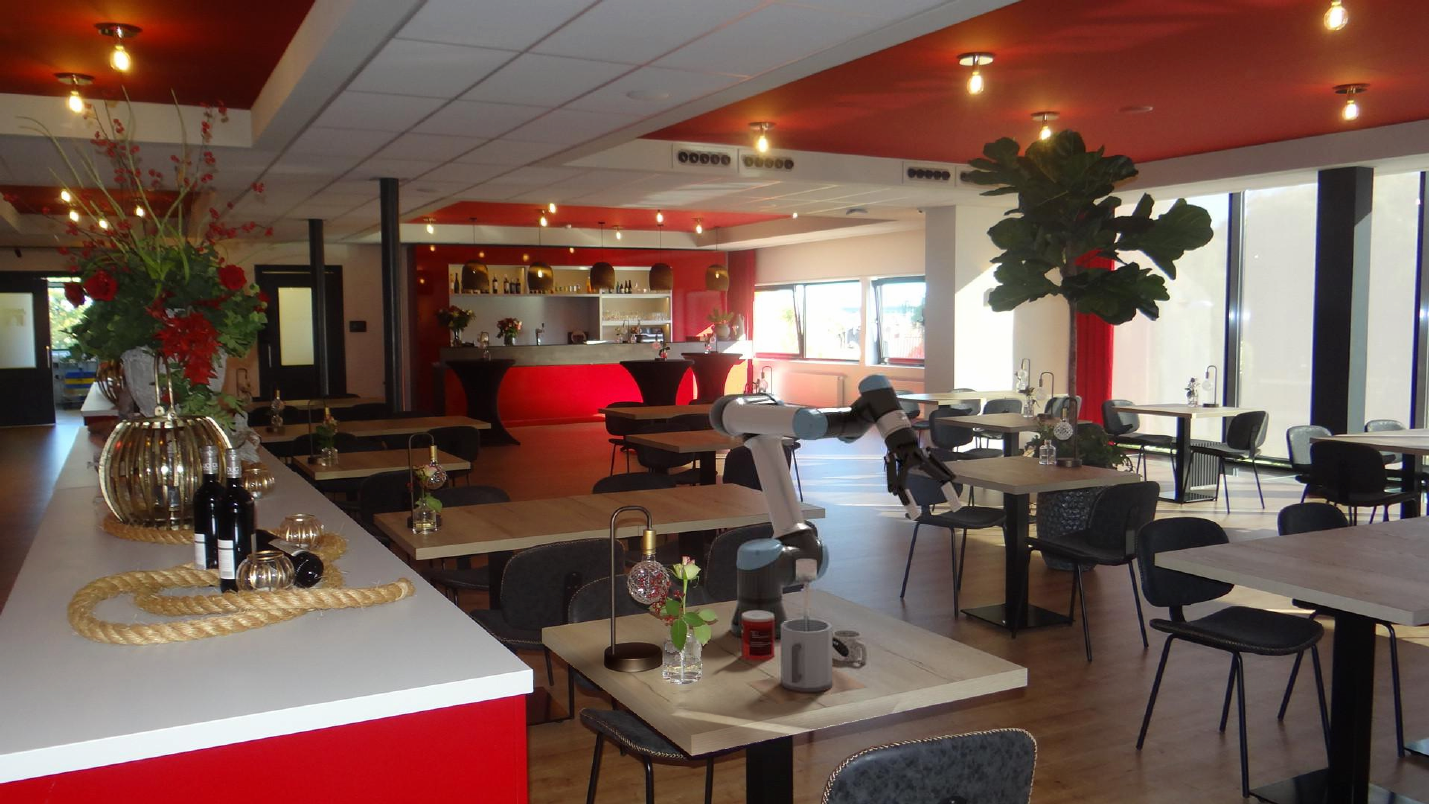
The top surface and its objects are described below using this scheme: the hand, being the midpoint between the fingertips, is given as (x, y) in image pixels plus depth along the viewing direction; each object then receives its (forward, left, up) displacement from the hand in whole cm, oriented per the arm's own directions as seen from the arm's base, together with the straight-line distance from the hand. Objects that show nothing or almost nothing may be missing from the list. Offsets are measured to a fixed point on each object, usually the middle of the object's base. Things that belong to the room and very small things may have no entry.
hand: (937, 513), depth 227 cm
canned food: (-40, -10, -36) cm, 55 cm away
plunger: (-23, -25, -26) cm, 43 cm away
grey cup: (-23, -27, -35) cm, 49 cm away
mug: (-19, -4, -36) cm, 41 cm away
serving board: (-23, -25, -36) cm, 50 cm away
